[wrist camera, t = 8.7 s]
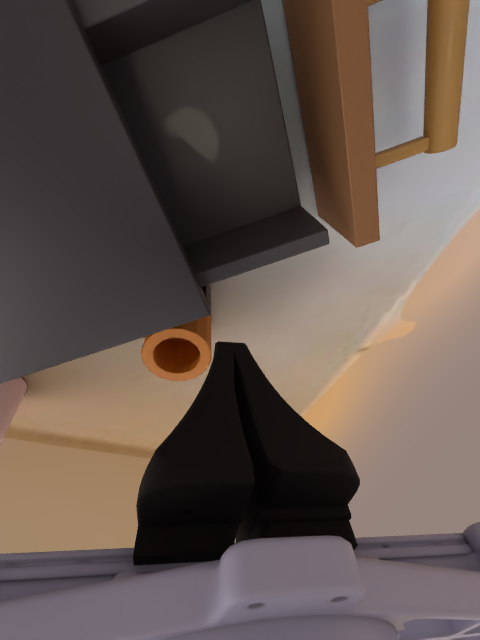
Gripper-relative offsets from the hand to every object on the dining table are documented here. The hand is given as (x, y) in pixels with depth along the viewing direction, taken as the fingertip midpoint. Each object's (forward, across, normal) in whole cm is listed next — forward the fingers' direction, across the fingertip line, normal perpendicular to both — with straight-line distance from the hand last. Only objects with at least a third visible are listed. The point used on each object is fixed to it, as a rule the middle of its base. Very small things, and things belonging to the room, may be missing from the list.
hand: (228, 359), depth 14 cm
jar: (+10, +3, +5) cm, 12 cm away
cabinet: (+10, +10, -4) cm, 15 cm away
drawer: (+10, -1, -9) cm, 13 cm away
